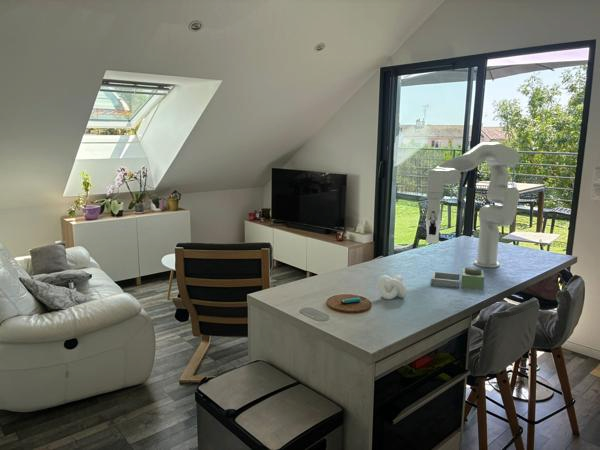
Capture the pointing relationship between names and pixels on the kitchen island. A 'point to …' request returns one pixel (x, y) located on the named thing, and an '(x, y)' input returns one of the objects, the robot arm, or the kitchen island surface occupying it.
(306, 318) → the kitchen island surface
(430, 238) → the beer glass
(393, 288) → the white knot sculpture
